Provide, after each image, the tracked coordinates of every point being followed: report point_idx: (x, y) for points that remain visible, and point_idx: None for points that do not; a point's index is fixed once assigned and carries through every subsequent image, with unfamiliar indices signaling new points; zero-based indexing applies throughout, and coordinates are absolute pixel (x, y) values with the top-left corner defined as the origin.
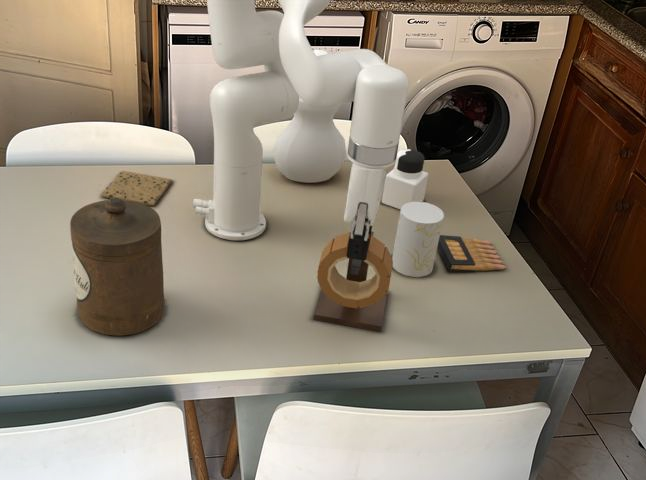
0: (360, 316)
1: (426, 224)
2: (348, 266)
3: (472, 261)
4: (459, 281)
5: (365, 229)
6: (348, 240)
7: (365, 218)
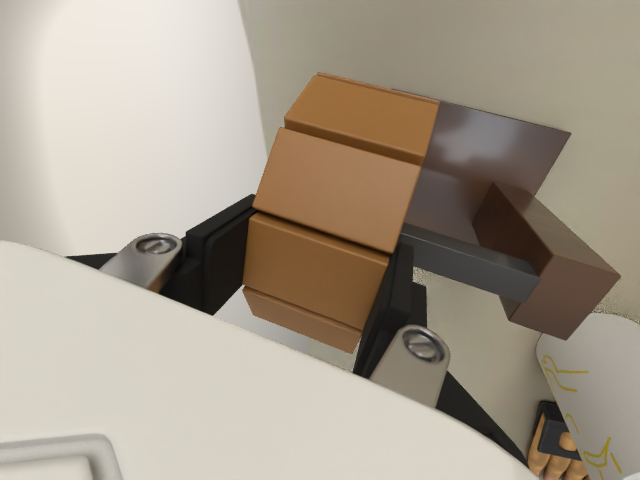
0: None
1: None
2: (510, 205)
3: (549, 452)
4: (503, 402)
5: (366, 329)
6: (308, 225)
7: (365, 376)
